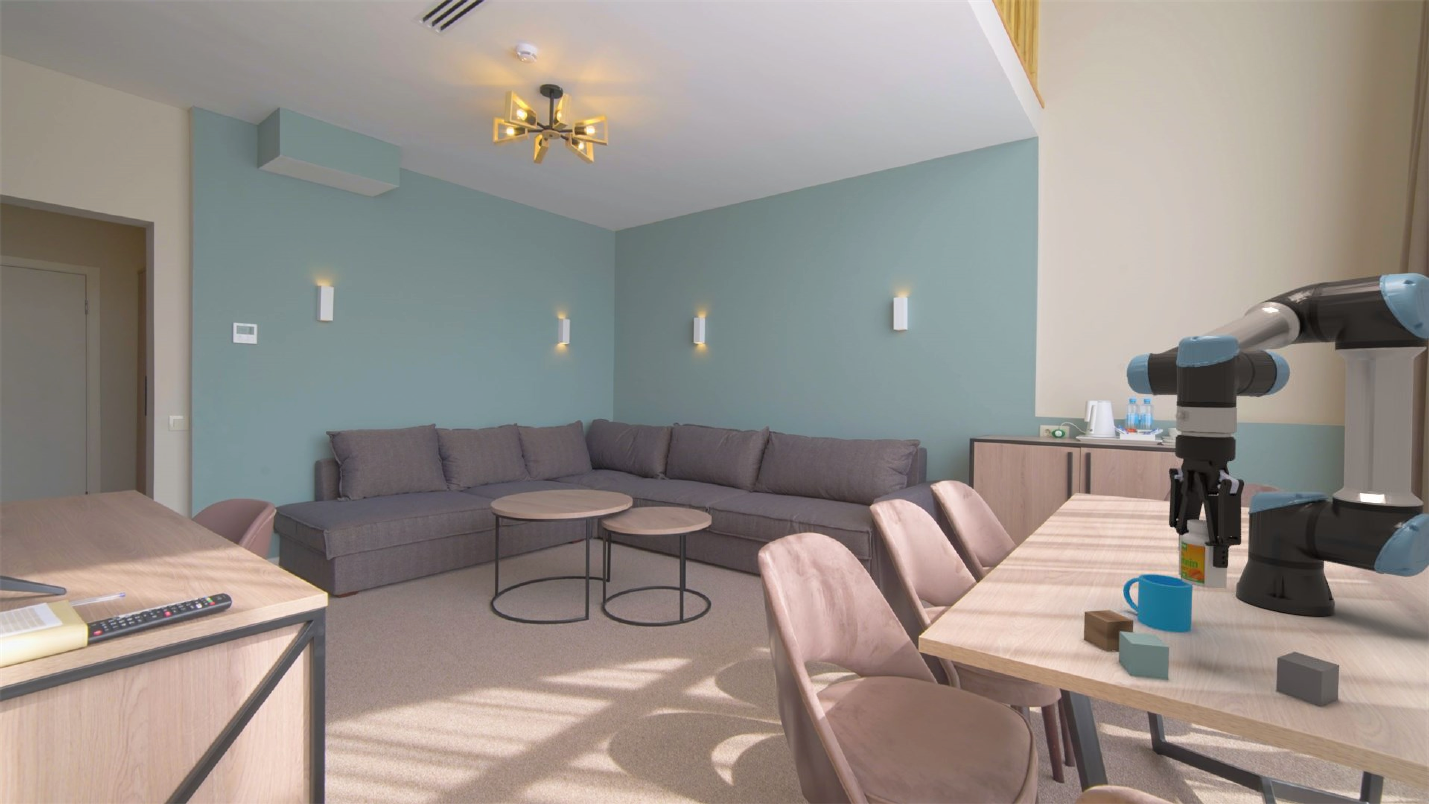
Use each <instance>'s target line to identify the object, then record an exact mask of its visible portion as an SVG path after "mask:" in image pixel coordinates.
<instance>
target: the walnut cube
mask: <svg viewBox="0 0 1429 804" xmlns="http://www.w3.org/2000/svg"><path fill="white" fill-rule="evenodd" d="M1083 623H1084V625H1083V641H1085V642H1087V643H1090V644H1092V646H1095V647H1097V648H1099V649H1101V650H1103V651H1104V652H1117V651H1118V652H1119V632H1120V631H1121V632H1131V633H1134V620H1133V619H1131V618H1130V617H1129V618H1128V617H1126V616H1125V615H1122V614H1119V613H1117V612H1115V611H1114V610H1110V609H1107V610H1106V609H1105V610H1090V611H1089V610H1088V611H1087V610H1086V611H1084V621H1083Z"/></svg>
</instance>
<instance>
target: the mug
mask: <svg viewBox="0 0 1429 804" xmlns="http://www.w3.org/2000/svg"><path fill="white" fill-rule="evenodd" d="M1135 583H1138V586H1137V587H1138V588H1137V590H1138V591H1137V604H1136V603H1135V602H1134V601H1133V599H1132V597H1131V592H1130V590H1131V587H1132V586H1133V584H1135ZM1122 592H1123V596H1124V597H1123V598H1124V599H1125V601H1126V603H1127V604H1128V606H1129V607H1130V608H1131V609H1132V610H1134V611H1135V612H1136V613H1137V621H1138V623H1140V624H1141V625H1144V626H1146V627H1148V628H1152V629H1154V630H1155V629H1156V630H1159V631H1164V632H1170V633H1187V632H1190V631H1191V630H1192V612H1193V611H1192V610H1193V585H1191V584H1188V583H1185V582H1183V581H1182V580H1181V577H1179V578H1178V577H1175V576H1169V575H1163V574H1156V573H1155V574H1153V573H1149V574H1148V573H1146V574H1145V573H1144V574H1141V575H1139V576H1138V577H1133V578H1131V579H1128V580H1127V581H1126V583H1124V585H1123V589H1122Z"/></svg>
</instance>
